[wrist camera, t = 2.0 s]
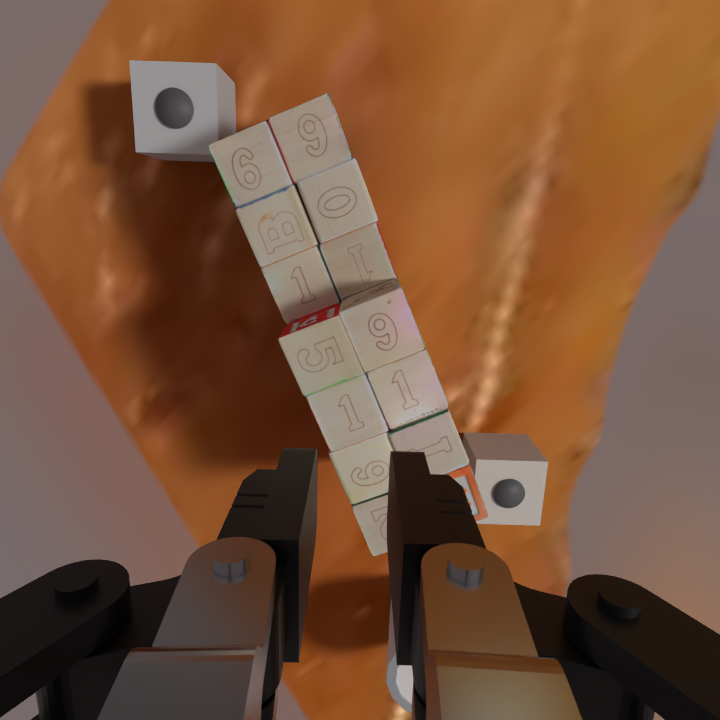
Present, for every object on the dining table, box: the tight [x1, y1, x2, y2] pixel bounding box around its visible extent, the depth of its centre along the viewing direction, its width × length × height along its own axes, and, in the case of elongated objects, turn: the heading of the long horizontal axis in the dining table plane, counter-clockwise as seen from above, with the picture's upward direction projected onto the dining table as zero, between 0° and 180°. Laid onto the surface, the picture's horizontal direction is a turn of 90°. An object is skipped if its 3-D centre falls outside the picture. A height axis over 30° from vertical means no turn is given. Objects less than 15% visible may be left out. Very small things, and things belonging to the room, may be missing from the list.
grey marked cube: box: [129, 60, 236, 162], centre depth 31 cm, size 4×4×5 cm
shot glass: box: [386, 600, 413, 713], centre depth 39 cm, size 7×7×7 cm
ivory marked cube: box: [463, 433, 548, 525], centre depth 37 cm, size 4×4×5 cm
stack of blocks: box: [208, 93, 489, 556], centre depth 30 cm, size 21×6×12 cm, turn 21°
